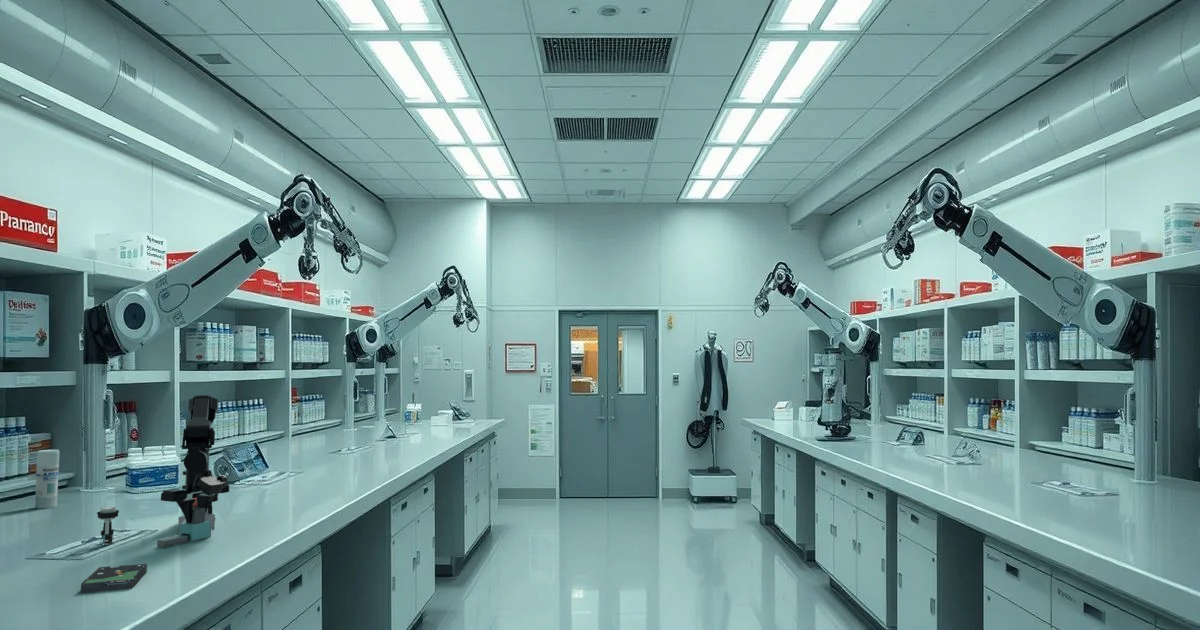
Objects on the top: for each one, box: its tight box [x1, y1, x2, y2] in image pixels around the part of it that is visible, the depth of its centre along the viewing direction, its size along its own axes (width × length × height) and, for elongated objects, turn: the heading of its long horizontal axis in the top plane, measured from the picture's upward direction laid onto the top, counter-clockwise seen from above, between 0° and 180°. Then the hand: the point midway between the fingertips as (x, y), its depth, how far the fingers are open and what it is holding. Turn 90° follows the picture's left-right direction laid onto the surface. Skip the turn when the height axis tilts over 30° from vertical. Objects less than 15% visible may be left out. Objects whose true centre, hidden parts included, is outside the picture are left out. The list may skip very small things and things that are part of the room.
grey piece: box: [177, 507, 216, 533], centre depth 233 cm, size 7×7×7 cm
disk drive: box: [80, 563, 148, 594], centre depth 178 cm, size 10×3×15 cm
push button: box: [96, 506, 120, 546], centre depth 215 cm, size 7×5×10 cm
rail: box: [156, 530, 212, 549], centre depth 218 cm, size 15×3×2 cm, turn 157°
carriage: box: [178, 507, 211, 542], centre depth 221 cm, size 6×5×8 cm
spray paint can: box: [34, 449, 61, 510], centre depth 271 cm, size 6×6×20 cm
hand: (195, 521), depth 221 cm, fingers closed on carriage, 3 cm apart
